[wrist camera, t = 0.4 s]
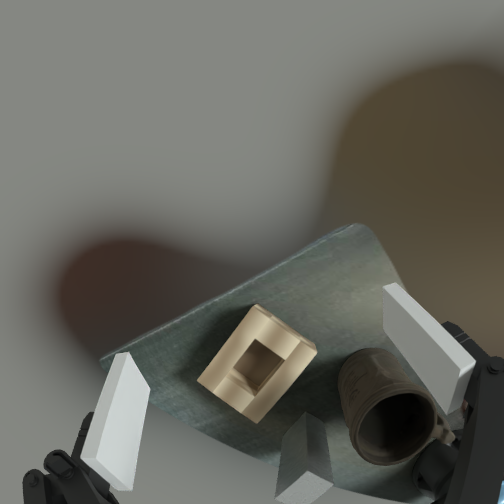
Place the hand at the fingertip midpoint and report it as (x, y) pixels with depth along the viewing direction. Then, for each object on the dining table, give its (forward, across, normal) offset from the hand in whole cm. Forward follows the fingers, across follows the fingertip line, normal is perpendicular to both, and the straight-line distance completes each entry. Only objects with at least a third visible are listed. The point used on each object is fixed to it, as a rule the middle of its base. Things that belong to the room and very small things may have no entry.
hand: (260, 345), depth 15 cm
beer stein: (+20, -16, +30) cm, 39 cm away
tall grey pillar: (+19, -2, +35) cm, 40 cm away
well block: (+26, +2, +23) cm, 35 cm away
